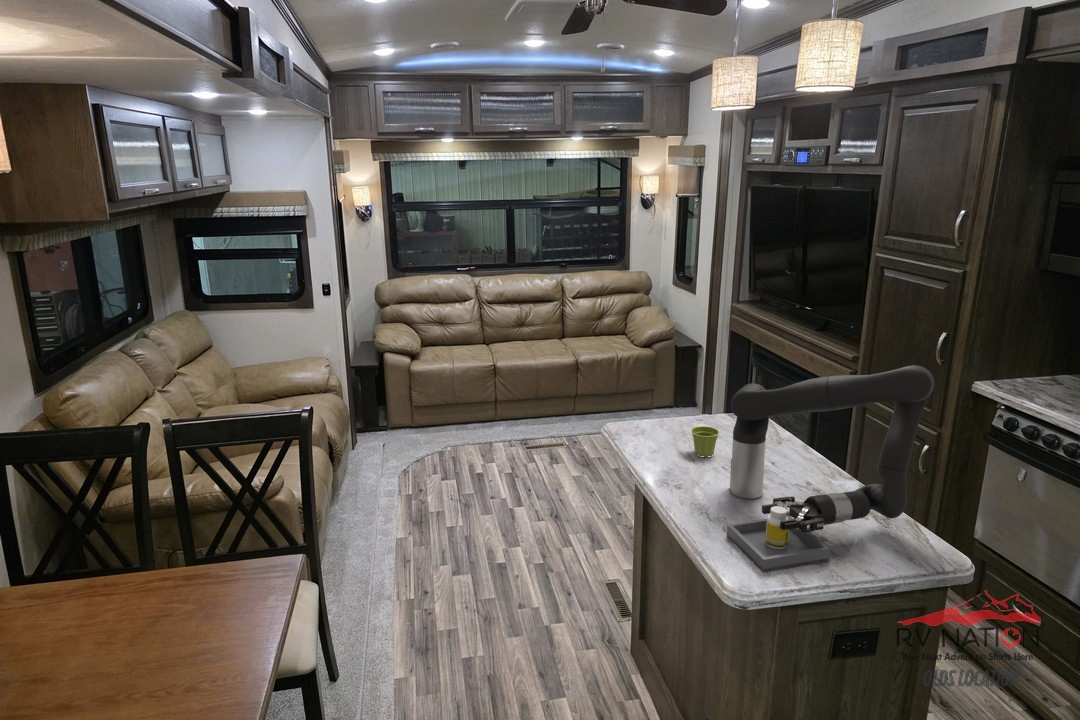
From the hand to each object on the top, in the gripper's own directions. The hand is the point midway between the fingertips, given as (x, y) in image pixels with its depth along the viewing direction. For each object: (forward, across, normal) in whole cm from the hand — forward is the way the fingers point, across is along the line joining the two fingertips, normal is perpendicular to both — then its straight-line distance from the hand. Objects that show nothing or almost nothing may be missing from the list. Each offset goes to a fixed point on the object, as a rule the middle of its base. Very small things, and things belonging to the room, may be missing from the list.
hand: (771, 517), depth 175 cm
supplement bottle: (-2, 0, +8) cm, 8 cm away
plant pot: (-12, -61, +9) cm, 63 cm away
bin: (-2, 0, +9) cm, 9 cm away
